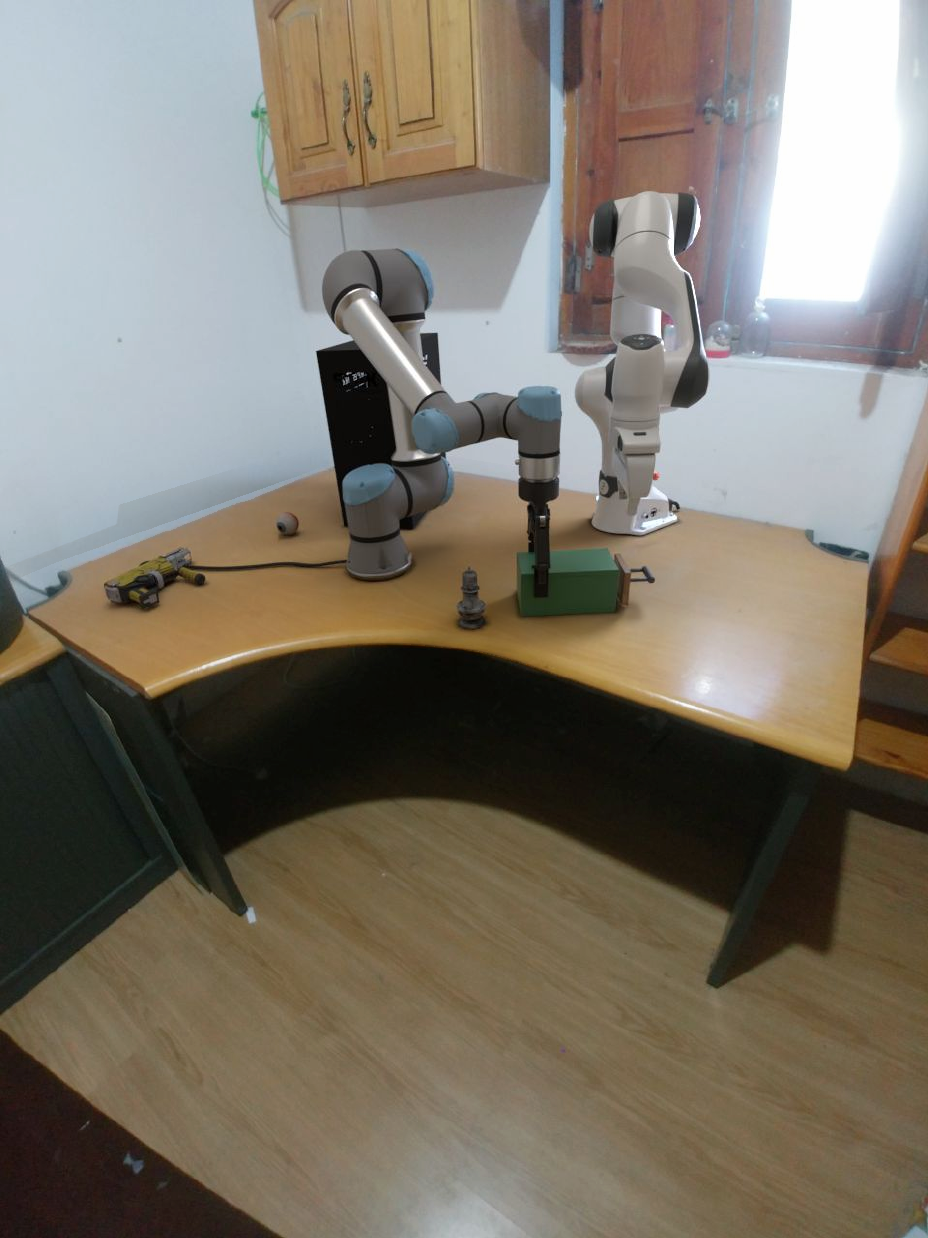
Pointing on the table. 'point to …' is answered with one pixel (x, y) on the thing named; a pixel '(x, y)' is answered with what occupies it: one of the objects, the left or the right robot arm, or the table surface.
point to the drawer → (628, 578)
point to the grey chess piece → (471, 602)
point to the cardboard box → (363, 410)
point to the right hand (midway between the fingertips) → (626, 506)
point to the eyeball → (287, 523)
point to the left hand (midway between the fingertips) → (537, 583)
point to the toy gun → (150, 579)
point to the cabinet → (569, 583)
